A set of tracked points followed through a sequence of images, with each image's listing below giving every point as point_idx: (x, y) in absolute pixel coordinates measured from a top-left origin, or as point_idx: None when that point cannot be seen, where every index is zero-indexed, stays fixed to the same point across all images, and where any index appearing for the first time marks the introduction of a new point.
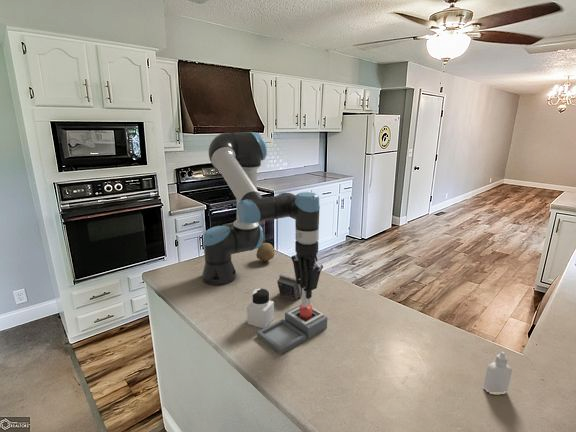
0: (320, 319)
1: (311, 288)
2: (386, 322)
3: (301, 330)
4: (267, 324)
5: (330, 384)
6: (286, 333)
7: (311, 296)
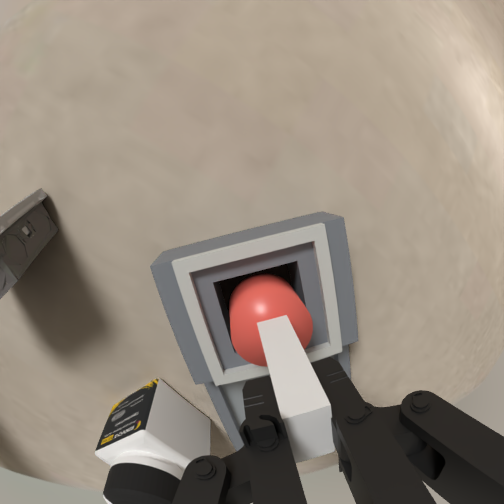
0: (339, 261)
1: (429, 448)
2: (383, 8)
3: None
4: (199, 415)
5: (471, 332)
6: None
7: (338, 362)
